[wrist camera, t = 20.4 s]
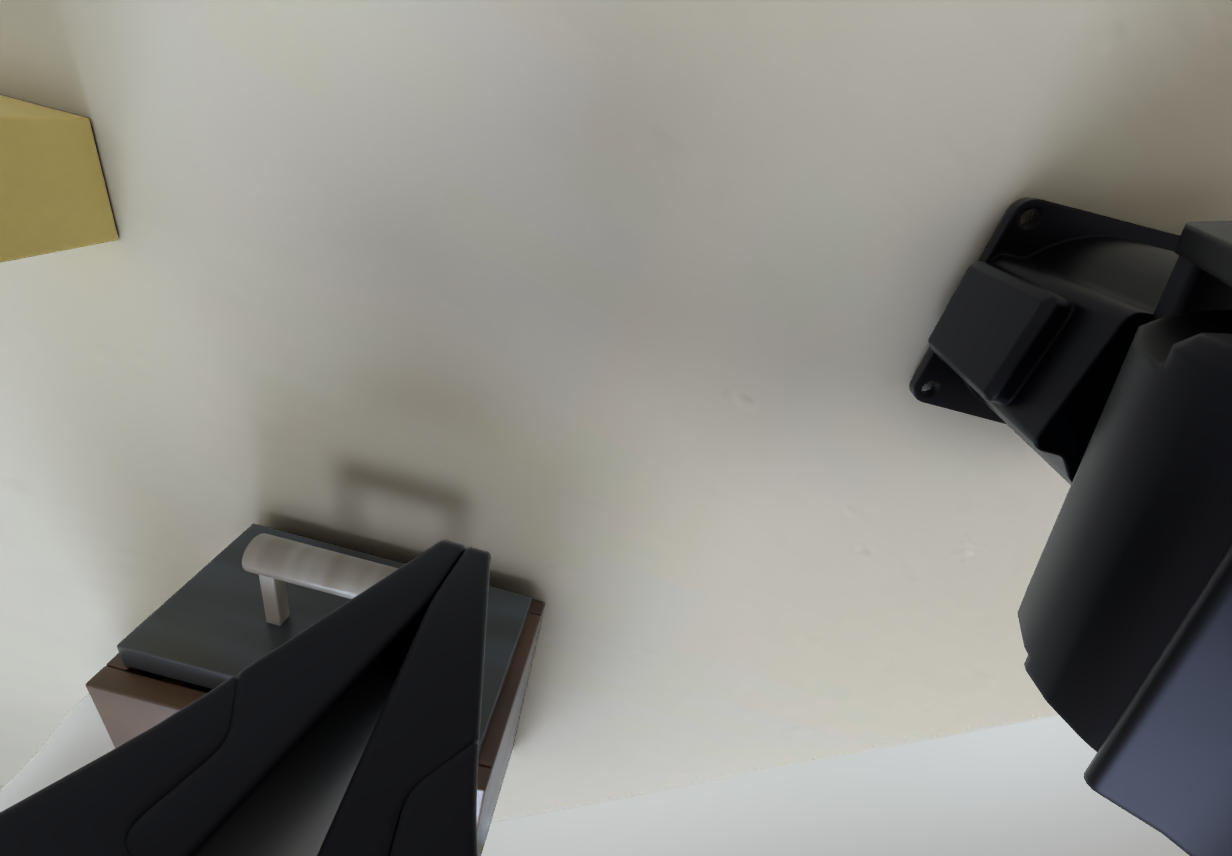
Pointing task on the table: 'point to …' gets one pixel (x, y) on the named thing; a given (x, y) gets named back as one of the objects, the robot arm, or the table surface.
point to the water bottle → (61, 753)
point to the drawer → (285, 612)
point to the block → (49, 182)
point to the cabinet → (148, 700)
